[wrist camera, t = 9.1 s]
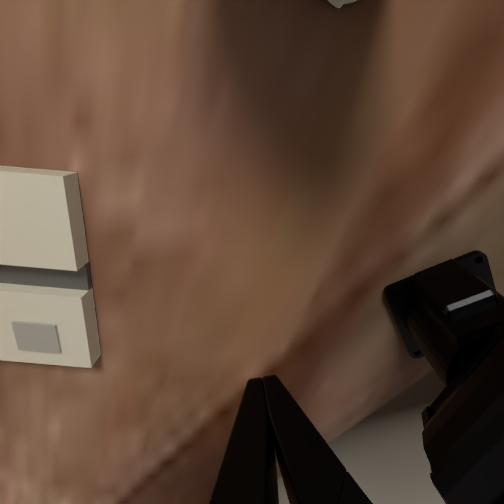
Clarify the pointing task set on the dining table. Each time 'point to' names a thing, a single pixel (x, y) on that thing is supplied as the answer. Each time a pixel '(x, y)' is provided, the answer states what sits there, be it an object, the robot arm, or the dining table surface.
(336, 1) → the photo printer
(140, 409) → the dining table surface
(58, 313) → the switch panel
